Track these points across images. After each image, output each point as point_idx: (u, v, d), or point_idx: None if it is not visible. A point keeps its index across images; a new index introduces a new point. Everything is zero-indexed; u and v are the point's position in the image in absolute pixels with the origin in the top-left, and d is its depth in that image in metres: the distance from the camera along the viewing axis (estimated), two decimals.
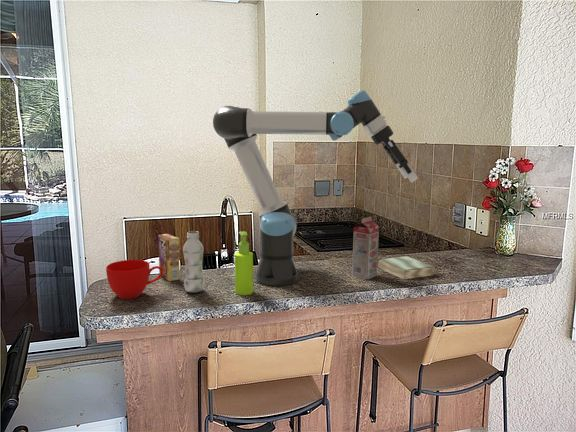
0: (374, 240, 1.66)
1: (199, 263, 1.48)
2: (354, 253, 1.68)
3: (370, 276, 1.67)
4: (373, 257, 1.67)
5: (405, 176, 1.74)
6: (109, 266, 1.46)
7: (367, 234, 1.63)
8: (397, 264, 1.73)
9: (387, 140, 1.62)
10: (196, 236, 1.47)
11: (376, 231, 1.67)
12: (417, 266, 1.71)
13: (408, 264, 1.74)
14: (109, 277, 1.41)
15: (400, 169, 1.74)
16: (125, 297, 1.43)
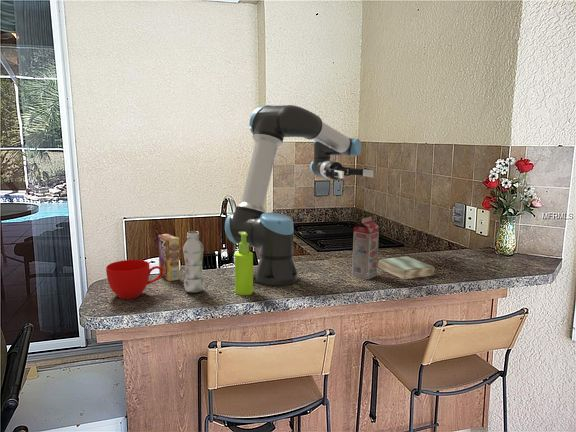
0: (374, 240, 1.66)
1: (199, 263, 1.48)
2: (354, 253, 1.68)
3: (370, 276, 1.67)
4: (373, 257, 1.67)
5: None
6: (109, 266, 1.46)
7: (367, 234, 1.63)
8: (397, 264, 1.73)
9: None
10: (196, 236, 1.47)
11: (376, 231, 1.67)
12: (417, 266, 1.71)
13: (408, 264, 1.74)
14: (109, 277, 1.41)
15: None
16: (125, 297, 1.43)
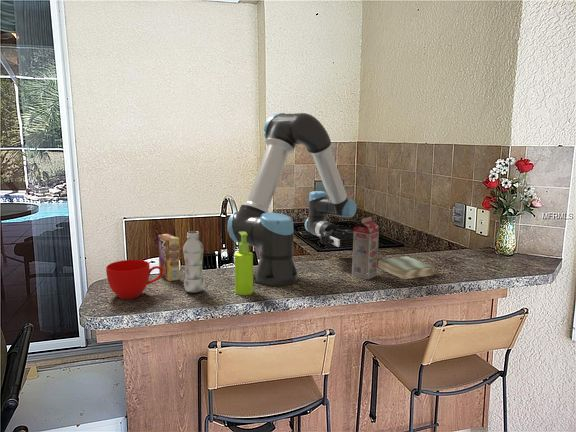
0: (374, 240, 1.66)
1: (199, 263, 1.48)
2: (354, 253, 1.68)
3: (370, 276, 1.67)
4: (373, 257, 1.67)
5: None
6: (109, 266, 1.46)
7: (367, 234, 1.63)
8: (397, 264, 1.73)
9: None
10: (196, 236, 1.47)
11: (376, 231, 1.67)
12: (417, 266, 1.71)
13: (408, 264, 1.74)
14: (109, 277, 1.41)
15: None
16: (125, 297, 1.43)
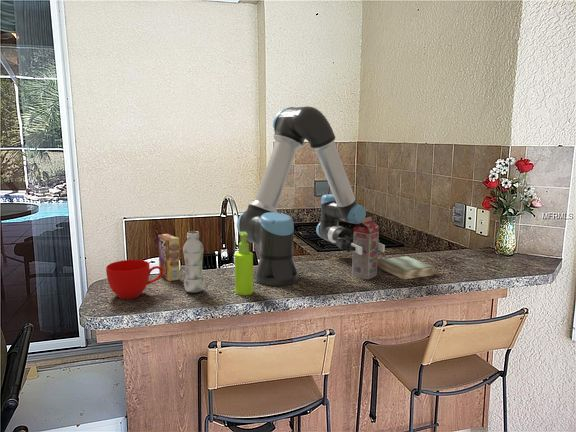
0: (374, 240, 1.66)
1: (199, 263, 1.48)
2: (354, 253, 1.68)
3: (370, 276, 1.67)
4: (373, 257, 1.67)
5: None
6: (109, 266, 1.46)
7: (367, 234, 1.63)
8: (397, 264, 1.73)
9: None
10: (196, 236, 1.47)
11: (376, 231, 1.67)
12: (417, 266, 1.71)
13: (408, 264, 1.74)
14: (109, 277, 1.41)
15: None
16: (125, 297, 1.43)
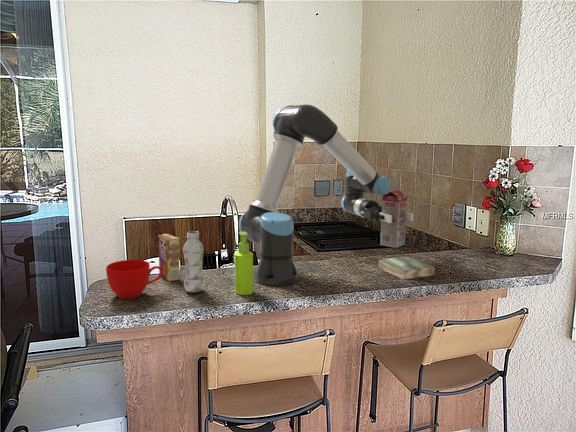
0: (403, 209, 1.69)
1: (199, 263, 1.48)
2: (383, 222, 1.71)
3: (399, 244, 1.70)
4: (402, 225, 1.70)
5: None
6: (109, 266, 1.46)
7: (396, 202, 1.66)
8: (397, 264, 1.73)
9: None
10: (196, 236, 1.47)
11: (405, 200, 1.69)
12: (417, 266, 1.71)
13: (408, 264, 1.74)
14: (109, 277, 1.41)
15: None
16: (125, 297, 1.43)
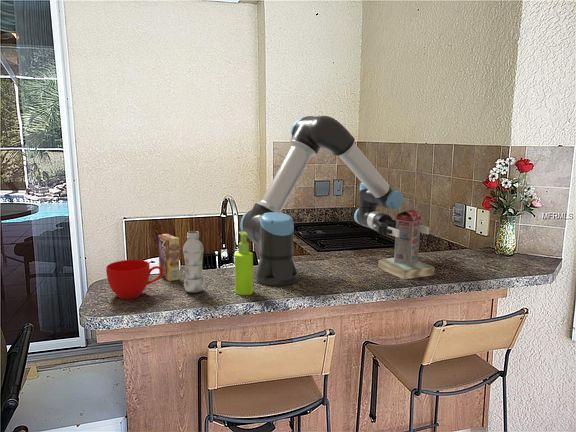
0: (417, 228, 1.72)
1: (199, 263, 1.48)
2: (396, 240, 1.74)
3: (412, 263, 1.73)
4: (415, 244, 1.73)
5: None
6: (109, 266, 1.46)
7: (410, 222, 1.69)
8: (397, 264, 1.73)
9: None
10: (196, 236, 1.47)
11: (418, 219, 1.72)
12: (417, 266, 1.71)
13: None
14: (109, 277, 1.41)
15: None
16: (125, 297, 1.43)
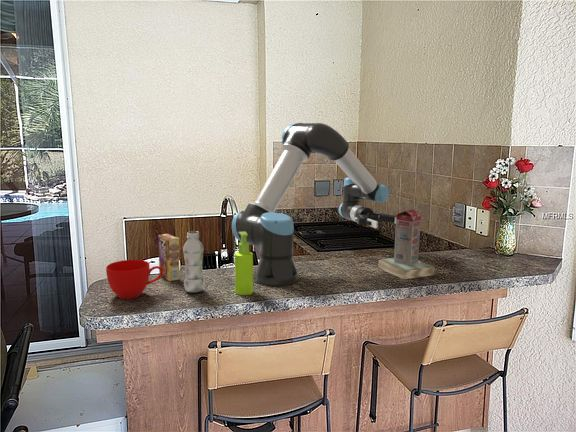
0: (417, 228, 1.72)
1: (199, 263, 1.48)
2: (396, 240, 1.74)
3: (412, 263, 1.73)
4: (415, 244, 1.73)
5: None
6: (109, 266, 1.46)
7: (410, 222, 1.69)
8: (397, 264, 1.73)
9: None
10: (196, 236, 1.47)
11: (418, 219, 1.72)
12: (417, 266, 1.71)
13: None
14: (109, 277, 1.41)
15: None
16: (125, 297, 1.43)
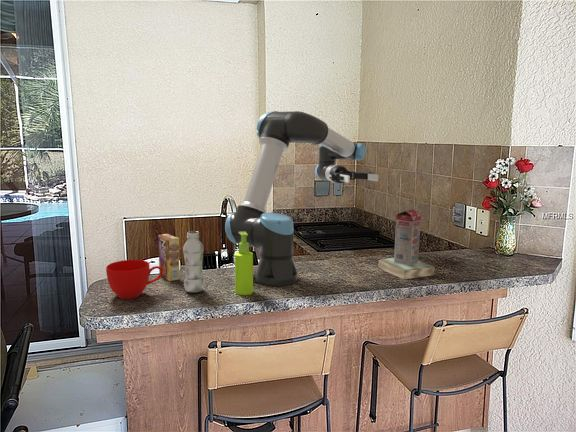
0: (417, 228, 1.72)
1: (199, 263, 1.48)
2: (396, 240, 1.74)
3: (412, 263, 1.73)
4: (415, 244, 1.73)
5: None
6: (109, 266, 1.46)
7: (410, 222, 1.69)
8: (397, 264, 1.73)
9: None
10: (196, 236, 1.47)
11: (418, 219, 1.72)
12: (417, 266, 1.71)
13: None
14: (109, 277, 1.41)
15: None
16: (125, 297, 1.43)
